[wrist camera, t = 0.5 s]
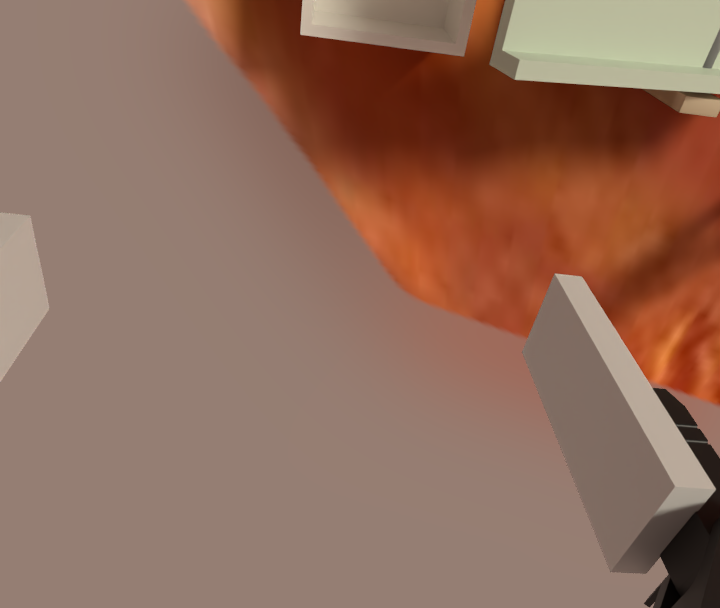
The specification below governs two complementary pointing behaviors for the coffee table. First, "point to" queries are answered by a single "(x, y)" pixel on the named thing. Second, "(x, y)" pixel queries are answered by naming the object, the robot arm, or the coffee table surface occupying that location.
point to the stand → (688, 101)
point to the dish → (392, 23)
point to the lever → (612, 43)
